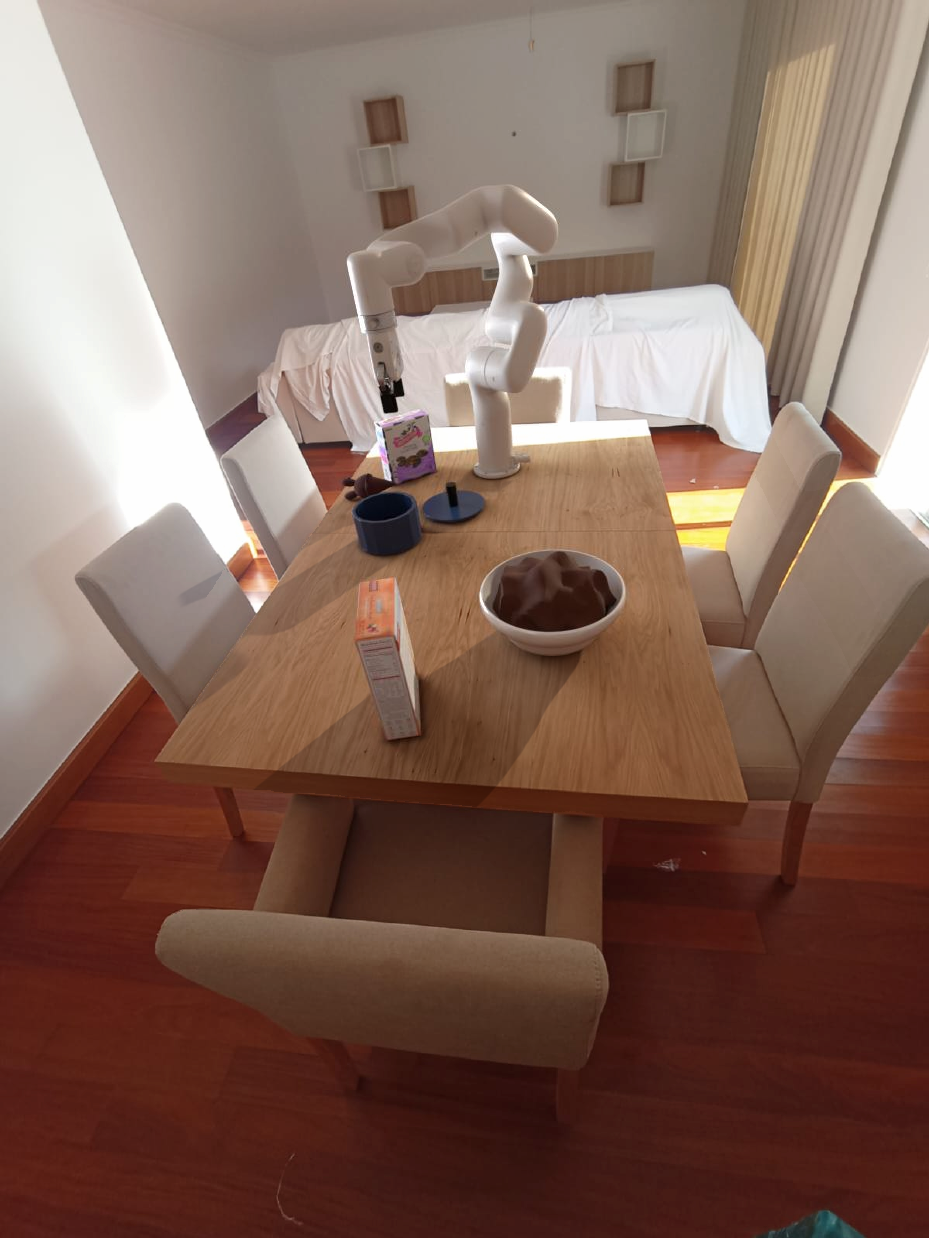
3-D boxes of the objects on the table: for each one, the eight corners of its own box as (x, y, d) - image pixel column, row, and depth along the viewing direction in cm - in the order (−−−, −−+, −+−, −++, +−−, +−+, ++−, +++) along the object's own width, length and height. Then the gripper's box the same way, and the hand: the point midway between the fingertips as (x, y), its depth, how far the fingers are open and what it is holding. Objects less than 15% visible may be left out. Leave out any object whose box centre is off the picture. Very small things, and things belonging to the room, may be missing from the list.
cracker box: (384, 680, 103) (358, 580, 90) (419, 675, 103) (397, 574, 90) (383, 742, 92) (352, 639, 79) (421, 737, 92) (397, 633, 79)
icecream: (397, 467, 157) (345, 473, 161) (389, 472, 151) (334, 479, 154) (402, 493, 160) (351, 499, 164) (394, 499, 153) (340, 505, 157)
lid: (486, 492, 154) (484, 468, 150) (483, 522, 142) (481, 496, 138) (426, 496, 156) (422, 472, 152) (419, 526, 144) (414, 501, 140)
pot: (425, 521, 146) (419, 489, 140) (417, 553, 134) (411, 520, 129) (366, 525, 148) (359, 493, 142) (354, 557, 136) (345, 524, 131)
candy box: (392, 486, 163) (381, 427, 153) (384, 479, 167) (372, 421, 157) (437, 471, 168) (429, 413, 157) (428, 465, 172) (419, 407, 162)
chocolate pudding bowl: (495, 587, 121) (489, 522, 111) (623, 591, 115) (628, 522, 106) (471, 673, 102) (461, 603, 93) (623, 683, 96) (628, 609, 87)
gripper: (389, 330, 115) (405, 417, 126) (402, 308, 128) (416, 389, 139) (351, 334, 116) (371, 421, 127) (368, 313, 129) (384, 392, 140)
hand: (394, 404), depth 133 cm, fingers open, 9 cm apart
